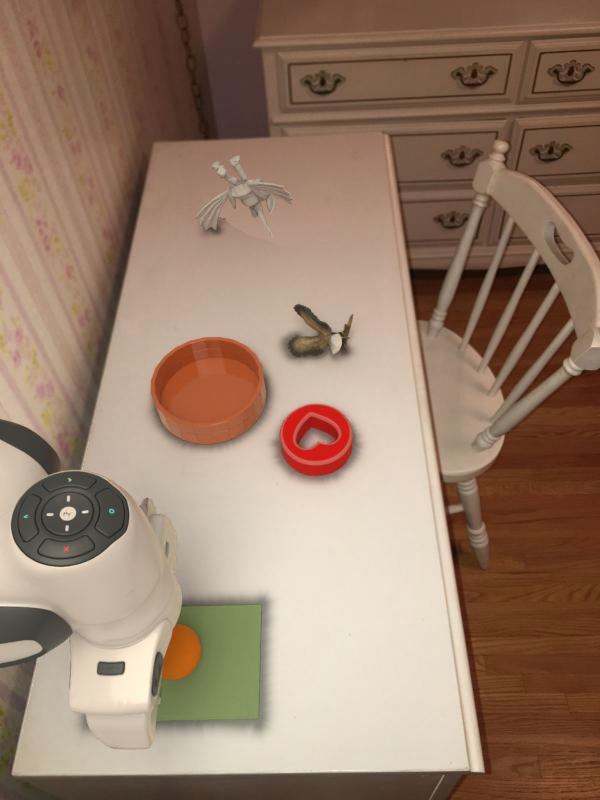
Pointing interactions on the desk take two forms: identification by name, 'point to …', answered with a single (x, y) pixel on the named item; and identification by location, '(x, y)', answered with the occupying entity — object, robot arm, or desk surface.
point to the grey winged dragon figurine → (242, 195)
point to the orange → (181, 653)
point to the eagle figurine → (323, 340)
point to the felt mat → (218, 666)
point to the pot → (209, 390)
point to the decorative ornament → (321, 455)
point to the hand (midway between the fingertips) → (159, 646)
